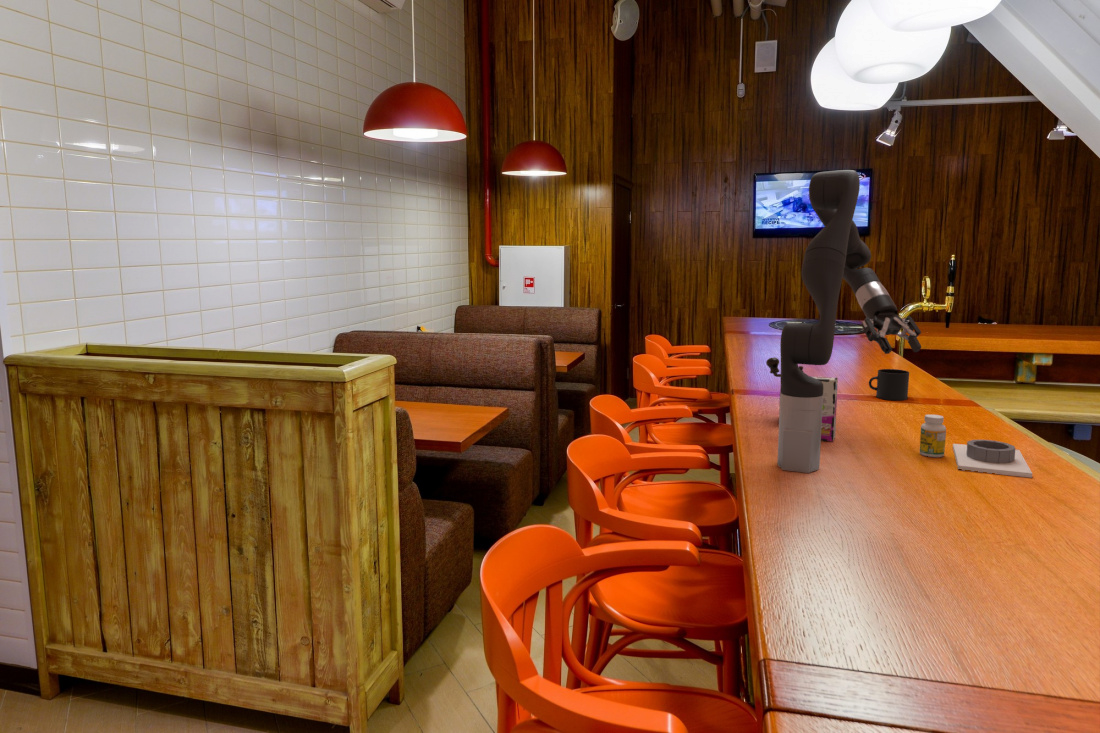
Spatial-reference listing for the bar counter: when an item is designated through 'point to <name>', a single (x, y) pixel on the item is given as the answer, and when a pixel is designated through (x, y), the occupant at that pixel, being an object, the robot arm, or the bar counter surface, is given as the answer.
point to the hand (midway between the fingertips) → (903, 351)
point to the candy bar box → (828, 407)
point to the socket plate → (991, 458)
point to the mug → (891, 384)
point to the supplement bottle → (933, 436)
